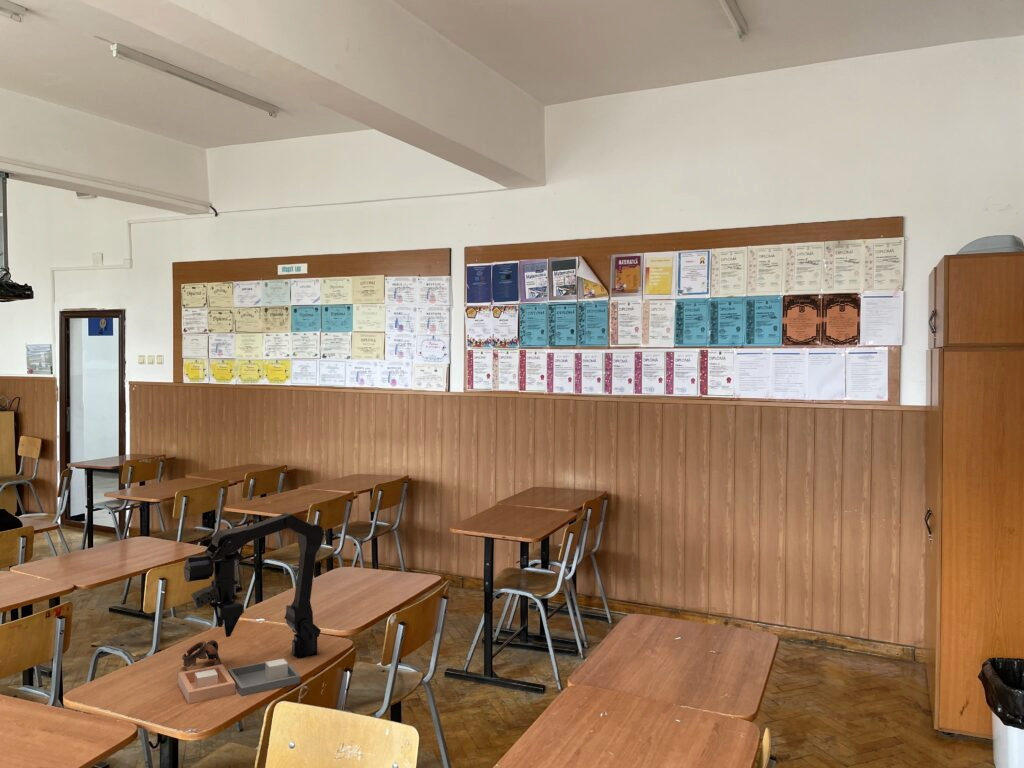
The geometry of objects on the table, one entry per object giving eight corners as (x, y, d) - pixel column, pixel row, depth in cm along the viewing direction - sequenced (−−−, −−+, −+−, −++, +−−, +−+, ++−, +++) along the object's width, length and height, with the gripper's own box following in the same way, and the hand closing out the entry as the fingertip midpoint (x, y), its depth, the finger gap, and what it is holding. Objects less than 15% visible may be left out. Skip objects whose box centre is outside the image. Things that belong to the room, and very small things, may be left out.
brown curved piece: (216, 676, 211) (200, 653, 210) (188, 688, 213) (172, 665, 211) (233, 649, 223) (218, 627, 221) (206, 661, 225) (191, 639, 223)
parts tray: (283, 667, 217) (284, 658, 217) (300, 685, 205) (300, 675, 205) (227, 678, 209) (227, 669, 209) (241, 698, 197) (241, 688, 197)
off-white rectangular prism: (283, 672, 212) (283, 658, 212) (287, 677, 209) (287, 663, 209) (265, 676, 209) (265, 662, 209) (269, 681, 206) (269, 667, 206)
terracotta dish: (222, 676, 210) (222, 664, 210) (235, 696, 198) (235, 682, 198) (177, 685, 203) (178, 672, 203) (188, 706, 192) (188, 692, 191)
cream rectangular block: (214, 683, 204) (214, 669, 204) (217, 689, 200) (217, 674, 200) (194, 687, 201) (194, 672, 201) (197, 693, 198) (197, 678, 198)
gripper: (187, 572, 214) (186, 626, 215) (201, 589, 199) (200, 647, 199) (228, 567, 221) (227, 620, 221) (244, 583, 205) (244, 640, 205)
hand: (224, 631), depth 211 cm, fingers open, 9 cm apart
